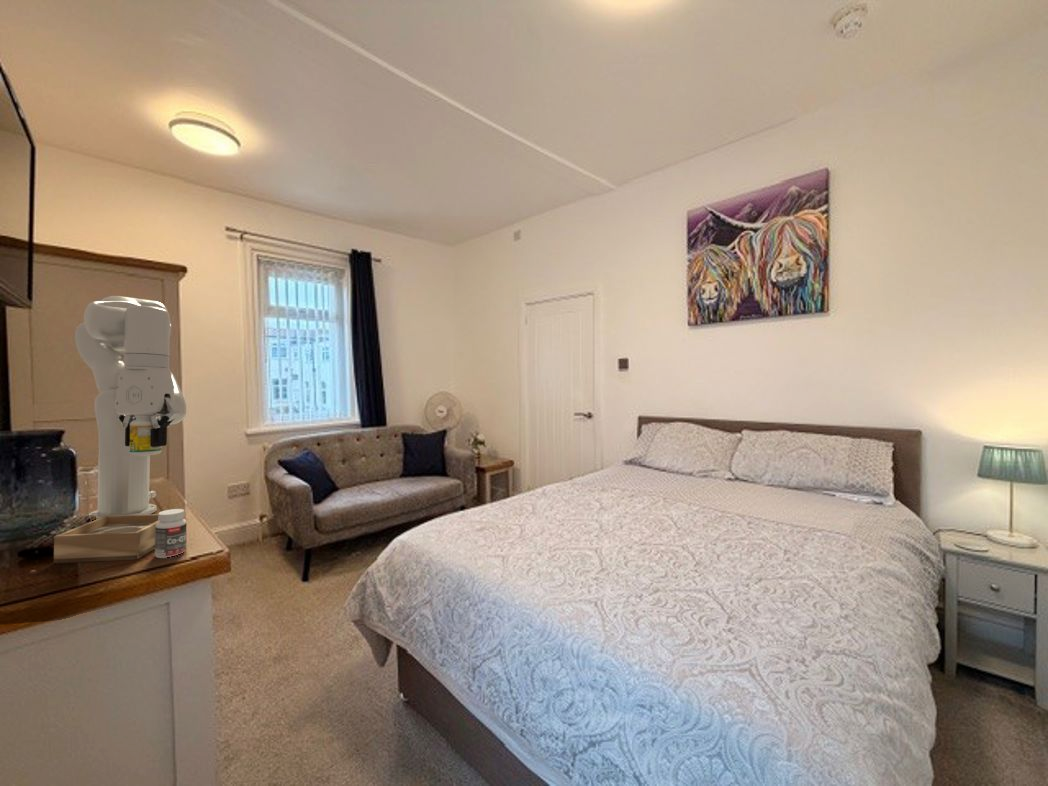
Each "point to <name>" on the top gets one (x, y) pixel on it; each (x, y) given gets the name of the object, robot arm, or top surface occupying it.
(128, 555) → the oak box
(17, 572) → the top surface
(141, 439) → the supplement bottle
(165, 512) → the pill bottle
